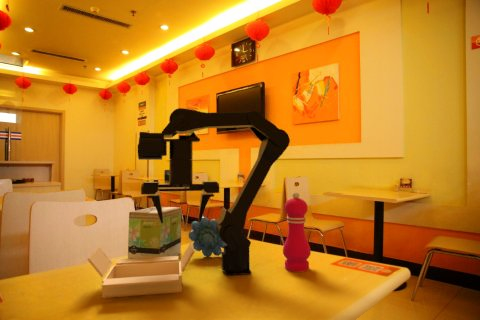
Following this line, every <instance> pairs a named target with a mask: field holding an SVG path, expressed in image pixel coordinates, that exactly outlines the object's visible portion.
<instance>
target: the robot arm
mask: <svg viewBox="0 0 480 320" xmlns="http://www.w3.org/2000/svg"><path fill="white" fill-rule="evenodd" d="M168 121H169V122H168V124H167V125H166V126H165V127H164V128H162V129H163V130H162V131H161V132H147V131H140V132H139V137H138V143H137V157H138V160H141V161H145V160H147V161H148V160H154V161H155V160H156V161H158V160H159V161H161V160H163V157H165V156H166V157H167V155H169V167H168V168H169V169H164V174H163V175H164V176H163V177H164V178H163V179H164V183H165V184H161V183H160V181H144V182H143V183H142V184H141V188H140V191H141V193H140V195H146V198H147V199H151V201H152V203H153V205H154V207H156V209H157V212H158V215H159V218H160V221H161V223H163V212H162V207H163V205H162V197H161V193H160V192H200V191H201V193H200V201H199V209H198V222H199V223H200V221H201V219H202V217H204V216H203V215H204V212H205V209H206V207H207V204H208V203H209V200H210V198H211V197H212V198H213V197H215V194H220V183H219V182H218V181H215V180H212V181H211V180H209V181H208V180H207V181H206V180H202V181H201V183H193V181H194V180H193V177H194V176H193V170H194V169H193V165H194V164H193V161H194V160H193V157H194V156H193V154H194V153H193V144H194V143H199V142H200V141H201V138H200V137H198V136H197V135H196V133H195V132H197V131H201V130H205V129H224V128H225V129H227V128H228V129H229V128H230V129H231V128H248V129H249V130H250V131H251V133H252V134H254V136H255V138H257V140H258V141H260V142H261V143H260V144H259V148H258V149H259V150H258V152H257V153H258V154H257V158H256V161H255V162H254V164H253V167H252V168H251V170H250V171H249V174H248V175H247V178H246V180H245V181H244V184H243V185H242V187H241V189H240V191H239V193H238V195H237V196H236V198H235V200H234V202H233V204H232V205H231V206H230V207H229V208H228V209H226V208H225V207H222V209H221V212H220V215H219V216H218V218H217V219H215V220H216V222H217V226H216V231H217V233H218V235H219V237H220V238H221V240H222V241H223V242H225V244H227V246H224V248H223V251H222V253H221V255H220V256H221V261H220V262H221V270H222V271H223V272H224V274H225V276H233V275H234V276H235V275H244V274H245V275H246V274H248V275H249V274H252V270H251V268H250V246H251V243H252V242H251V240H249V239H248V238H247V236H246V235H244V229H245V225H246V221H247V215H248V212H249V209H250V208H251V206H252V205H253V202H254V201H255V199H256V196H257V195H258V193H259V191H260V189H261V187H262V185H263V183H264V181H265V179H266V178H267V175H268V174H269V172H270V170H271V168H272V166H273V165H274V163H275V162H277V160H278V159H279V158H280V157H281V156H282V155H283V154H284V152H285V151H286V149H288V147H289V145H290V142H291V139H290V137H289V134H288V133H287V132H286V131H285V130H283V129H282V128H281V129H280V128H278V127H277V126H276V125H275V124H274V123H272V122H271V121H270V120H269V119H267V118H265V117H264V116H263V115H262V114H261V113H260V112H258V111H256V110H250V111H226V112H206V111H205V112H204V111H200V110H195V109H189V108H182V107H180V108H176V109H174V110H173V111H172V112H171V113H170V115H169V120H168ZM189 133H191V134H190V135H185V134H189ZM176 135H178V138H173V137H175V136H176ZM167 143H169V145H168V144H167ZM168 146H169V147H168ZM168 148H169V154H167V152H168Z"/></svg>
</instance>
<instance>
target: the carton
mask: <svg viewBox="0 0 480 320" xmlns="http://www.w3.org/2000/svg"><path fill="white" fill-rule="evenodd" d="M157 262H159V263H157ZM140 263H142V264H140ZM182 272H183V271H181V260H179V255H177V256H165V257H147V258H130V259H128V258H119V259H118V260H117V261H116V263H115V265H114V264H113V265H111V266H110V269H108V272H106V274H105V276H104V277H103V279H102V281H101V298H102V299H109V298H122V297H124V298H125V297H134V296H150V295H151V296H152V295H163V294H173V293H174V294H175V293H177V294H178V293H182V292H183V291H182V290H183V288H182V287H183V278H182V277H183V273H182Z"/></svg>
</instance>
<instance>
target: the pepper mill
mask: <svg viewBox="0 0 480 320" xmlns="http://www.w3.org/2000/svg"><path fill="white" fill-rule="evenodd" d="M308 207H309V206H308V204H307V202H306V201H305V199H302V198H300V194H299V192H297V191H295V192H293V193H292V198H290V199H288V200H287V201H286V202H285V204H284V211H285V213H286V215H287V216H286V222H287V223H288V224H287V225H288V233H287V236H286V239H285V240H284V243H283V247H282V254H283V256H284V257H285V258H286V260H284V268H285V269H286V270H287V271H289V272H298V273H299V272H300V273H302V272H307V271H308V270H309V269H310V262H309V260H308V259H309V258H310V256H311V254H312V253H311V252H312V251H311V247H310V244H309V242H308V239H307V237H306V233H305V223H307V221H306V219H307V217H306V216H305V215H306V214H308V211H309V210H308Z"/></svg>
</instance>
